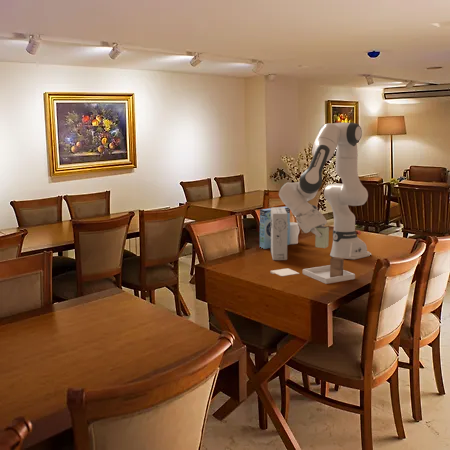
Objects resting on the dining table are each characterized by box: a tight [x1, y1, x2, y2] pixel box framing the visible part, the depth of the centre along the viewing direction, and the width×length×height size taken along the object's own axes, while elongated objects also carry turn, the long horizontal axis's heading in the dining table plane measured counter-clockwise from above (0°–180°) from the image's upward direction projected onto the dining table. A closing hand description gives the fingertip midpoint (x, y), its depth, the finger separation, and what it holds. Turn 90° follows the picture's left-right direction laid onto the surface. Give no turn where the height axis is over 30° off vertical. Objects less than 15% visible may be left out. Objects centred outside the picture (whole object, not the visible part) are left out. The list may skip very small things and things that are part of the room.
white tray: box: [302, 264, 356, 285], centre depth 232 cm, size 16×18×3 cm
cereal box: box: [270, 206, 288, 261], centre depth 274 cm, size 22×8×25 cm, turn 178°
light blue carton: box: [259, 205, 291, 250], centre depth 296 cm, size 20×5×23 cm, turn 124°
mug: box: [290, 221, 301, 245], centre depth 307 cm, size 12×8×12 cm
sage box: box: [314, 225, 330, 249], centre depth 230 cm, size 4×4×9 cm
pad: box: [269, 268, 300, 277], centre depth 239 cm, size 10×10×1 cm
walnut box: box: [329, 257, 345, 278], centre depth 229 cm, size 4×4×9 cm
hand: (323, 235), depth 230 cm, fingers closed on sage box, 4 cm apart
